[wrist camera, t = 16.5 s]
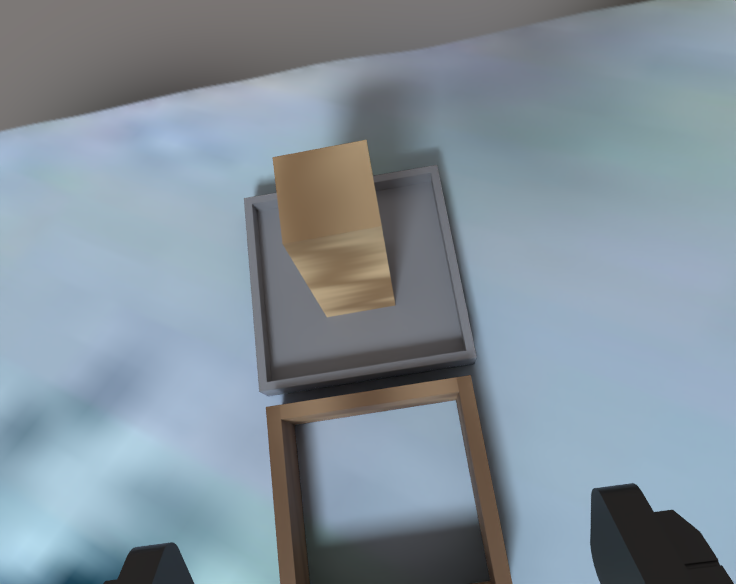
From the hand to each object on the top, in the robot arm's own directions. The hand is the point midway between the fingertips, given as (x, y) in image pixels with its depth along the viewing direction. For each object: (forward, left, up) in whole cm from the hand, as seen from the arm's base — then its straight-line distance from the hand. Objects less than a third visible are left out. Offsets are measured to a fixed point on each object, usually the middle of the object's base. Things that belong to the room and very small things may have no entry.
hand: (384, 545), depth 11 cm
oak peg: (+1, -14, -23) cm, 27 cm away
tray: (+1, -14, -24) cm, 27 cm away
